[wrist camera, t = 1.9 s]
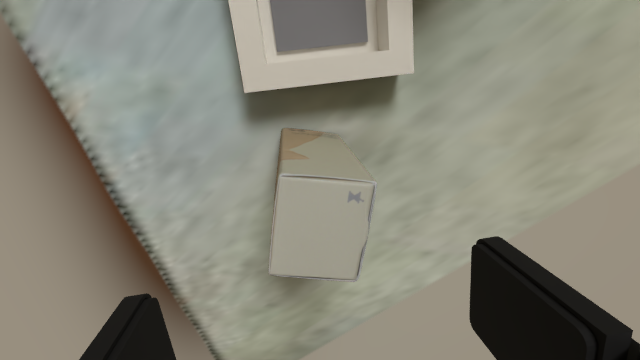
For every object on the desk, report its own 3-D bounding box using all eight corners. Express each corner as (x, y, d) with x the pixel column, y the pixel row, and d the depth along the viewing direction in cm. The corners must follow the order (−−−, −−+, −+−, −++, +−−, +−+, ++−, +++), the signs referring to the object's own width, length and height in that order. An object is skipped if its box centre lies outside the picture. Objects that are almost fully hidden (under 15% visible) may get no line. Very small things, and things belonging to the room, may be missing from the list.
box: (281, 126, 23) (278, 165, 13) (340, 133, 24) (382, 176, 14) (274, 195, 25) (266, 279, 14) (329, 200, 26) (360, 285, 15)
